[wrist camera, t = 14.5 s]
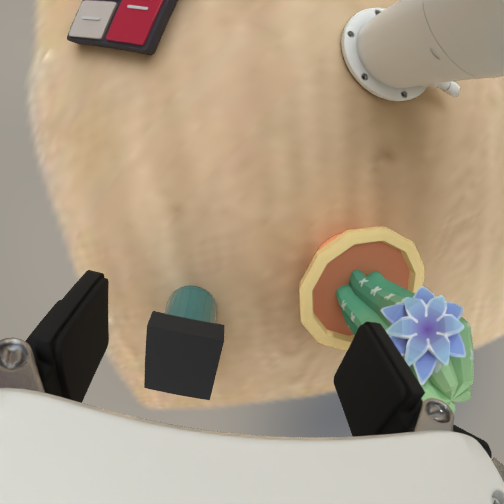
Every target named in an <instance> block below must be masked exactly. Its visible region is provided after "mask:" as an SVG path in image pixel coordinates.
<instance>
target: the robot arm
mask: <svg viewBox="0 0 504 504" xmlns="http://www.w3.org/2000/svg"><path fill="white" fill-rule="evenodd" d="M348 35H350V37H349V36H348ZM341 47H342V54H343V57H344V60H345V63H346V65H347V67H348V69H349V71H350V72H351V74H352V75H353V76H354V78H355V79H356V80H357V81H358V82H359V83H360V84H361V85H362V86H363V87H364V88H365V89H366V90H368V91H369V92H370V93H372V94H374V95H376V96H378V97H379V98H382V99H386V100H389V101H406V100H411V99H413V98H415V97H418V96H419V95H420V94H421V93H423V92H424V91H425V89H426V88H427V87H428V86H431V87H433V88H440V89H442V90H443V91H444V92H446V93H447V94H449V95H451V96H452V97H457V96H458V95H459V93H460V86H459V85H458V84H456V83H455V82H453V81H459V80H469V79H480V78H495V77H501V76H504V0H399V1H397V2H396V3H394V4H393V5H391V6H390V7H388V8H387V9H384V8H369V9H365V10H362V11H360V12H358V13H357V14H355V15H354V16H353V17H352V18H351V19H350V20H349V21H348V22H347V24H346V26H345V27H344V30H343V33H342V39H341ZM362 76H363V78H364V79H362ZM401 94H402V95H401ZM108 341H109V334H108V279H106V278H104V274H103V273H99V272H95V271H90V270H88V271H87V272H86V273H85V274H84V275H83V276H82V277H81V278H80V279H79V281H78V282H77V283H76V284H75V285H74V286H73V287H72V289H71V290H70V291H69V292H68V293H67V294H66V295H65V297H64V298H63V299H62V300H59V301H58V302H57V303H56V304H55V305H54V307H53V308H52V309H51V310H50V311H49V312H48V314H47V315H46V316H45V317H44V318H43V320H42V321H41V322H40V323H39V325H38V326H37V327H36V328H35V330H34V331H33V332H32V333H31V335H30V336H29V337H28V338H27V340H26V341H24V340H22V339H18V338H6V339H3V340H0V504H504V465H503V464H502V463H500V462H499V461H498V460H497V459H496V458H493V459H492V460H491V450H490V448H489V446H488V444H487V443H486V442H485V441H484V440H481V439H479V438H478V437H476V436H474V435H472V434H470V433H468V432H466V431H464V430H463V429H461V428H459V427H457V426H455V425H453V424H454V414H453V412H452V410H451V408H450V407H449V406H448V405H447V404H446V403H444V402H443V401H441V400H439V399H436V398H428V399H426V400H424V402H423V401H422V399H421V398H422V397H423V395H424V394H425V391H424V390H423V388H422V386H421V385H420V383H419V382H418V380H417V378H416V377H415V375H414V374H413V372H412V371H411V369H410V367H409V366H408V364H407V363H406V361H405V360H404V358H403V357H402V355H401V354H400V352H399V350H398V349H397V347H396V346H395V344H394V343H393V341H392V340H391V338H390V337H389V335H388V334H387V332H386V331H385V329H384V328H383V327H382V325H381V324H380V323H376V322H368V321H367V322H365V323H364V324H363V325H360V326H359V328H358V330H357V332H356V334H355V336H354V338H353V340H352V342H351V344H350V346H349V348H348V350H347V352H346V354H345V356H344V358H343V360H342V362H341V364H340V366H339V368H338V370H337V372H336V374H335V376H334V385H335V388H336V390H337V393H338V396H339V399H340V402H341V404H342V407H343V410H344V412H345V416H346V418H347V421H348V424H349V427H350V430H351V433H352V435H353V437H323V438H310V437H307V438H306V437H300V438H299V437H274V436H258V435H246V434H234V433H226V432H218V431H217V432H216V431H209V430H202V429H195V428H189V427H183V426H177V425H172V424H166V423H161V422H156V421H151V420H147V419H142V418H138V417H134V416H130V415H125V414H120V413H117V412H113V411H109V410H105V409H102V408H98V407H94V406H91V405H88V404H84V403H82V401H83V399H84V396H85V394H86V392H87V389H88V387H89V385H90V383H91V381H92V379H93V376H94V374H95V372H96V370H97V368H98V366H99V363H100V361H101V359H102V357H103V355H104V353H105V351H106V349H107V346H108Z"/></svg>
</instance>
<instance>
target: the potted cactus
mask: <svg viewBox="0 0 504 504" xmlns="http://www.w3.org/2000/svg"><path fill="white" fill-rule="evenodd" d="M424 273H425V267H424V265H423V263H422V260H421V258H420V256H419V253H418V251H417V249H416V247H415V244H414V242H412V241H410V240H409V239H407V238H405V237H403V236H401V235H399V234H398V233H396V232H394V231H392V230H390V229H388V228H386V227H381V226H379V227H370V228H362V229H353V230H346V231H345V232H344V233H342V234H337V235H334V236H333V237H331V238H330V239H329V240H327V241H326V242H324V243H323V244H322V245H320V246H319V248H318V250H317V252H316V253H315V255H314V257H313V259H312V261H311V263H310V265H309V267H308V269H307V270H306V272H305V274H304V276H303V278H302V280H301V282H300V285H299V294H300V316H301V323H302V324H303V325H304V326H305V328H306V329H307V330H308V331H309V332H310V334H311V335H312V336H313V337H314V338H315V340H316V341H317V342H318V343H319V344H322V345H326V346H329V347H333V348H337V349H341V350H344V351H347V350H348V348H349V346H350V344H351V342H352V340H353V338H354V336H355V334H356V332H357V330H358V328H359V326H360V325H363V324H364V323H365V322H367V321H368V322H376V323H380V324H381V325H382V327H383V328H384V329H385V331H386V332H387V334H388V335H389V337H390V338H391V340H392V341H393V343H394V344H395V346H396V347H397V349H398V350H399V352H400V354H401V355H402V357H403V358H404V360H405V361H406V363H407V364H408V366H409V367H410V369H411V371H412V372H413V374H414V375H415V377H416V378H417V380H418V382H419V383H420V385H421V386H422V388H423V390H424V391H425V394H424V395H423V397H422V398H421V399H422V401H423V402H424V400H426V399H428V398H436V399H439V400H441V401H443V402H444V403H446V404H447V405H448V406H449V407H450V408H451V410H452V412H453V414H454V412H455V409H456V406H455V405H454V402H453V401H456V402H463V401H467V400H469V399H470V397H471V396H472V389H471V384H472V383H474V365H473V344H472V335H471V327H470V324H469V323H468V322H467V321H466V320H465V319H463V318H462V317H461V316H462V314H463V309H464V308H463V307H462V306H461V305H458V304H455V303H451V302H447V301H446V300H445V298H444V296H442V295H440V296H437V297H436V296H435V295H434V294H433V293H432V292H431V291H430V290H428V289H427V288H425V287H424V286H423V280H424Z"/></svg>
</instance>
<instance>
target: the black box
mask: <svg viewBox="0 0 504 504" xmlns="http://www.w3.org/2000/svg"><path fill="white" fill-rule="evenodd" d="M223 343H224V325H221V324H216V323H210V322H205V321H199V320H194V319H189V318H184V317H179V316H174V315H169V314H165V313H160V312H155V311H153V312H152V314H151V317H150V320H149V322H148V325H147V337H146V356H145V388H148V389H153V390H157V391H162V392H167V393H172V394H177V395H182V396H188V397H194V398H200V399H206V400H210V396H211V392H212V388H213V384H214V380H215V375H216V371H217V367H218V363H219V359H220V355H221V351H222V347H223Z"/></svg>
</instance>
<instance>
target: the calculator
mask: <svg viewBox="0 0 504 504" xmlns="http://www.w3.org/2000/svg"><path fill="white" fill-rule="evenodd" d="M177 1H178V0H83V1H82V3H81V5H80V7H79V9H78V12H77V14H76V16H75V19H74V21H73V23H72V26H71V28H70V31H69V33H68V36H67V40H69V41H71V42H74V43H77V44H83V45H92V46H100V47H107V48H114V49H120V50H126V51H132V52H137V53H142V54H148V55H152V54H154V53H155V51H156V48H157V46H158V43H159V41H160V39H161V36H162V34H163V32H164V29H165V27H166V25H167V22H168V20H169V18H170V16H171V14H172V11H173V9H174V7H175V5H176V3H177Z"/></svg>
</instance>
